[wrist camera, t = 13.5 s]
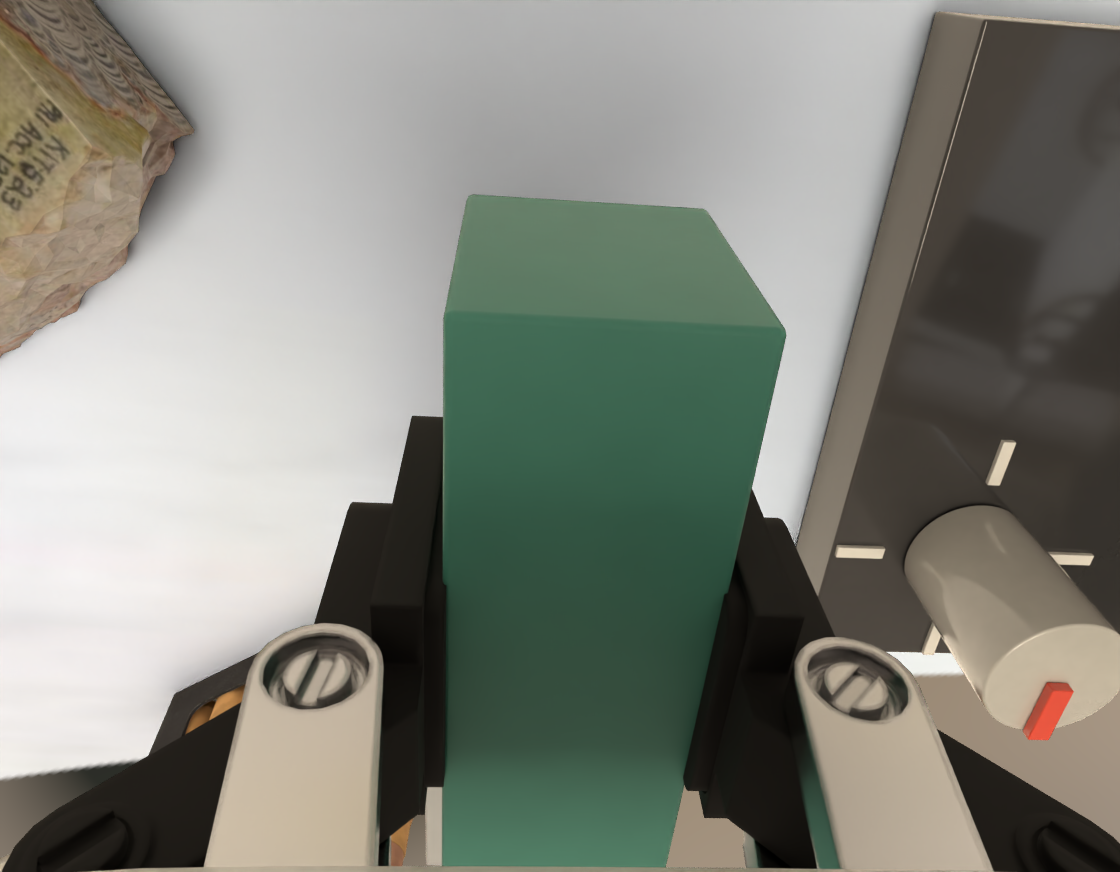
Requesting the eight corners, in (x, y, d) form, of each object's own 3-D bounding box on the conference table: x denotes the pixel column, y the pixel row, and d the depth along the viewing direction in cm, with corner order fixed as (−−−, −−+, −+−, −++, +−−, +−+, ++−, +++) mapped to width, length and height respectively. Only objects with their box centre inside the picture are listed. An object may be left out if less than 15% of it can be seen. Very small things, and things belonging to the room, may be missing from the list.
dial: (923, 501, 24) (1019, 631, 19) (1044, 506, 24) (1166, 636, 20) (889, 599, 26) (969, 739, 21) (1001, 603, 26) (1105, 743, 22)
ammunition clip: (425, 571, 28) (370, 944, 17) (456, 608, 29) (422, 985, 18) (172, 695, 30) (-11, 1091, 20) (207, 726, 31) (51, 1121, 20)
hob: (934, 10, 20) (988, 18, 18) (1477, 54, 21) (1594, 67, 19) (781, 598, 29) (804, 654, 27) (1168, 608, 30) (1223, 664, 28)
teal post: (747, 209, 11) (846, 333, 7) (632, 820, 17) (660, 1033, 14) (425, 189, 10) (382, 309, 7) (430, 818, 17) (408, 1035, 13)
